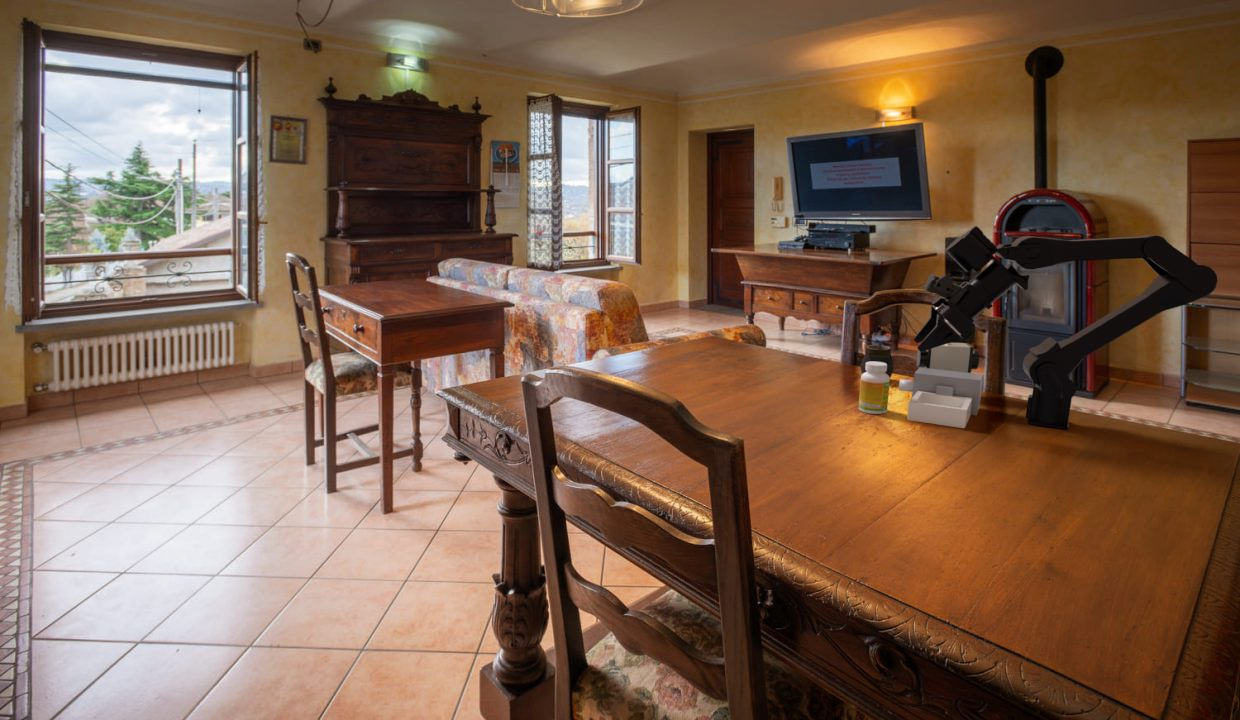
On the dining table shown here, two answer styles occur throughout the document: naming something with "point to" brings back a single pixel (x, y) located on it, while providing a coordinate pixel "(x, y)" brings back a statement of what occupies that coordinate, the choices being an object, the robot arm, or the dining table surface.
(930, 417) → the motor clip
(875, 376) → the supplement bottle
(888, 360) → the mate gourd
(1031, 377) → the robot arm
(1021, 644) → the dining table surface
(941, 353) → the pneumatic valve
